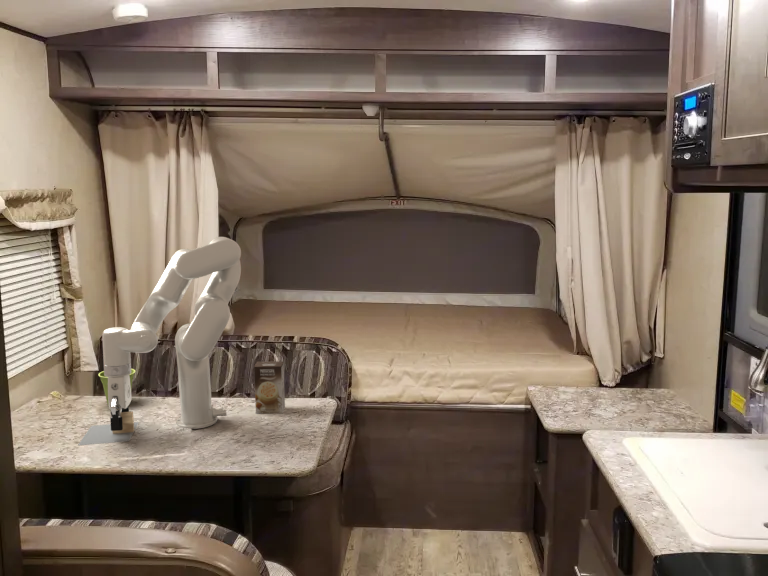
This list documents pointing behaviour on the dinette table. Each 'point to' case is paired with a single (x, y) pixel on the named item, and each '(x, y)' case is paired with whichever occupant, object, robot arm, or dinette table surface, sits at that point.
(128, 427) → the tile
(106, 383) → the plant pot
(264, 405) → the coffee box
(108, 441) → the mat
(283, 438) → the dinette table surface
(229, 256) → the robot arm
